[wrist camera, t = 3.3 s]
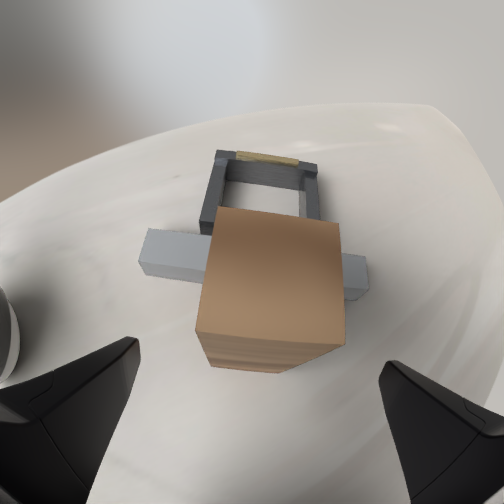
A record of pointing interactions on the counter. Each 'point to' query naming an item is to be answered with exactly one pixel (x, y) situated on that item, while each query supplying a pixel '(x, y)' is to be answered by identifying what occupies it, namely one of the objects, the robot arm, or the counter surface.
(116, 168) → the counter surface
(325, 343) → the block
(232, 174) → the keeper
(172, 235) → the door edge
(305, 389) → the counter surface
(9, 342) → the dark grey egg shape
